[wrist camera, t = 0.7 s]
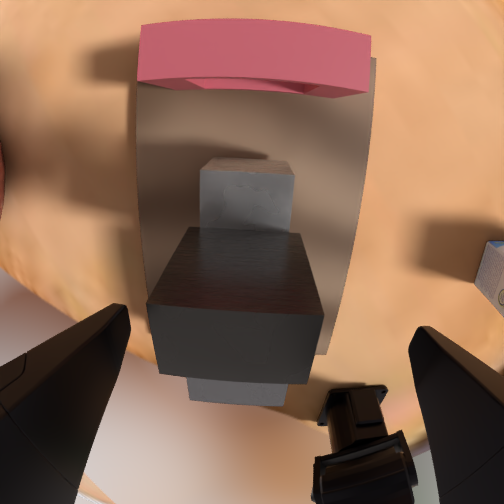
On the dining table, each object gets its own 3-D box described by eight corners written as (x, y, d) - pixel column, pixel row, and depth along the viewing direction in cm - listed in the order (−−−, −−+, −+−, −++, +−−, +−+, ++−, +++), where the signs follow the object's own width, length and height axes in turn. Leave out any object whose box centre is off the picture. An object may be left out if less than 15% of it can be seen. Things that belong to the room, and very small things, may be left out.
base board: (324, 346, 24) (326, 354, 23) (159, 336, 24) (156, 343, 23) (370, 60, 15) (376, 58, 14) (145, 48, 15) (139, 46, 14)
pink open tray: (333, 98, 15) (368, 92, 10) (176, 90, 15) (136, 81, 10) (335, 59, 14) (371, 35, 9) (178, 50, 14) (141, 25, 9)
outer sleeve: (279, 345, 23) (283, 406, 18) (202, 340, 23) (189, 400, 18) (292, 253, 20) (303, 308, 14) (199, 247, 20) (177, 300, 14)
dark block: (273, 353, 22) (277, 473, 13) (207, 349, 22) (185, 466, 13) (295, 162, 16) (342, 227, 7) (204, 156, 16) (135, 215, 7)
